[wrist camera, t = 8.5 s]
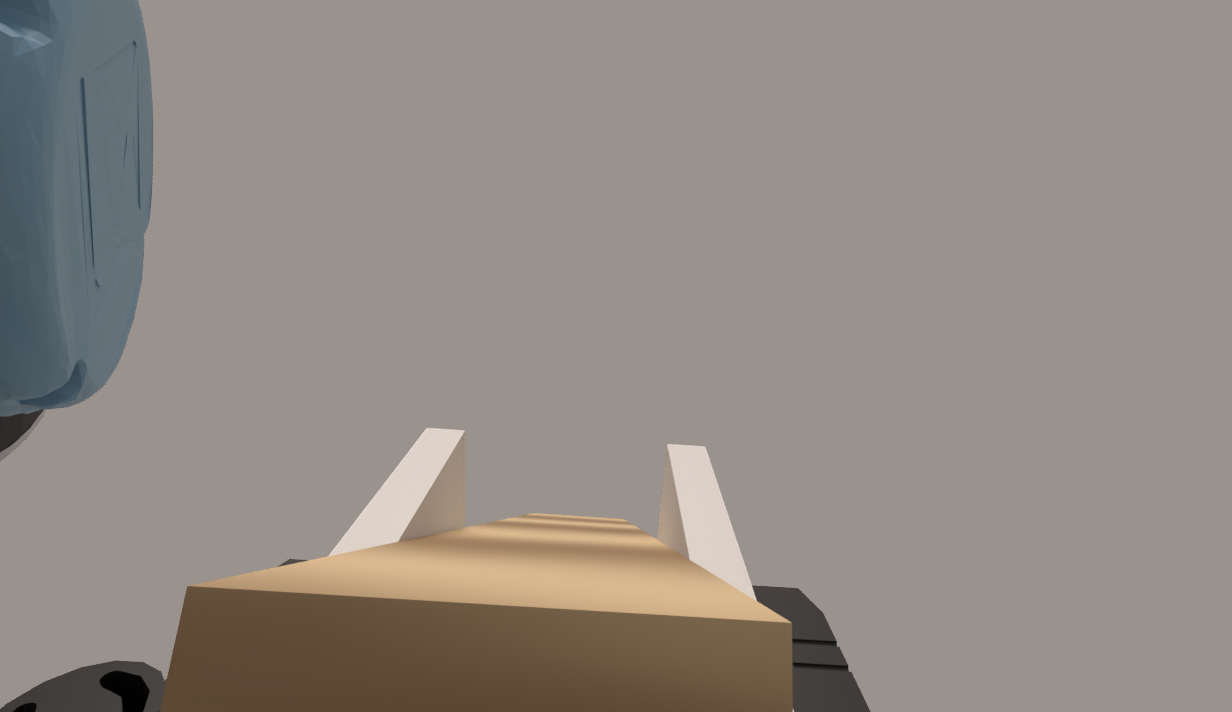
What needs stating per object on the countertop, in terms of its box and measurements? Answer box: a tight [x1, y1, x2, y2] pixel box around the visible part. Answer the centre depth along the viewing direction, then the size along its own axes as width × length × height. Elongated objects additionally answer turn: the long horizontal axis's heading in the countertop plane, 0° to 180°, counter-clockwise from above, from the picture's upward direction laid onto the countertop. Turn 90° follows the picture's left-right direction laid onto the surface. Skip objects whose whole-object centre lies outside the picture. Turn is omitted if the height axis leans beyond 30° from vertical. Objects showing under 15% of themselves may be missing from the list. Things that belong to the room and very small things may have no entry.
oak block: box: [160, 513, 793, 712], centre depth 15 cm, size 23×4×4 cm, turn 2°
